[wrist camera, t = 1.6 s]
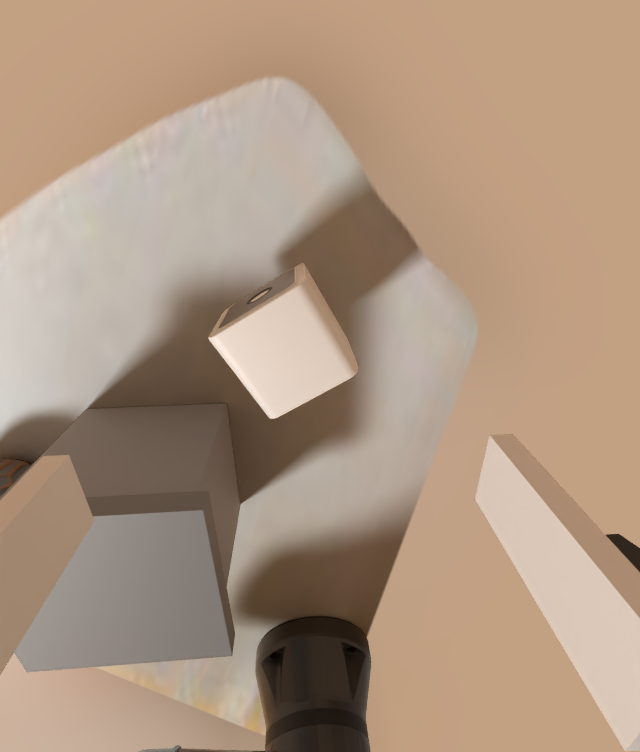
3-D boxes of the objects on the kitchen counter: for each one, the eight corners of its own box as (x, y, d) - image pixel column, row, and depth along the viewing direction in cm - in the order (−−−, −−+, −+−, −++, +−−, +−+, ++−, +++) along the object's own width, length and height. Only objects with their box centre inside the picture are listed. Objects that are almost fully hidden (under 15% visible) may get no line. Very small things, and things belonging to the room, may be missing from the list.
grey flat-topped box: (251, 511, 38) (231, 656, 26) (112, 519, 38) (27, 672, 25) (236, 392, 32) (202, 510, 20) (71, 399, 31) (-68, 525, 19)
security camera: (301, 252, 28) (306, 279, 19) (345, 329, 30) (367, 384, 21) (231, 295, 29) (204, 340, 20) (280, 365, 31) (275, 433, 22)
